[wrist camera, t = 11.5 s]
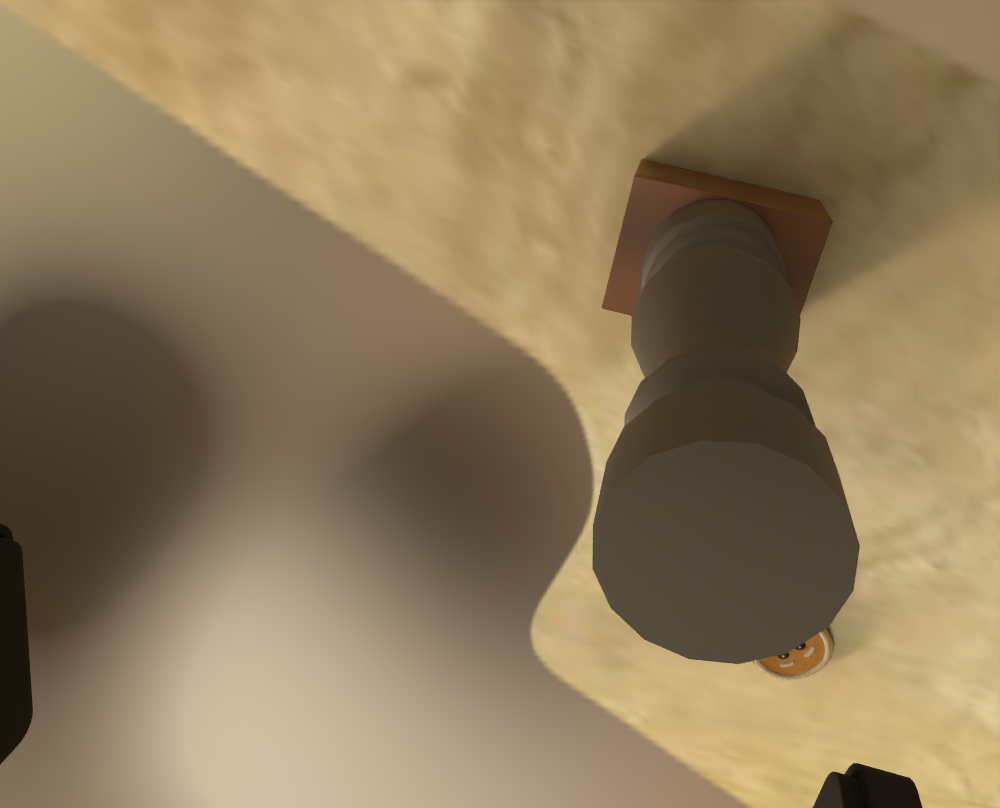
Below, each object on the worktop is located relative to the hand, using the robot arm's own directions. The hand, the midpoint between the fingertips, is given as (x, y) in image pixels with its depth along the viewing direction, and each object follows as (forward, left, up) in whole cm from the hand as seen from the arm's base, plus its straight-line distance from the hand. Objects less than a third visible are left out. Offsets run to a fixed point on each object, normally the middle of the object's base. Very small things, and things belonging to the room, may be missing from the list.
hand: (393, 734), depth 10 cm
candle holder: (+3, +5, -35) cm, 36 cm away
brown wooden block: (+3, +5, -40) cm, 40 cm away
